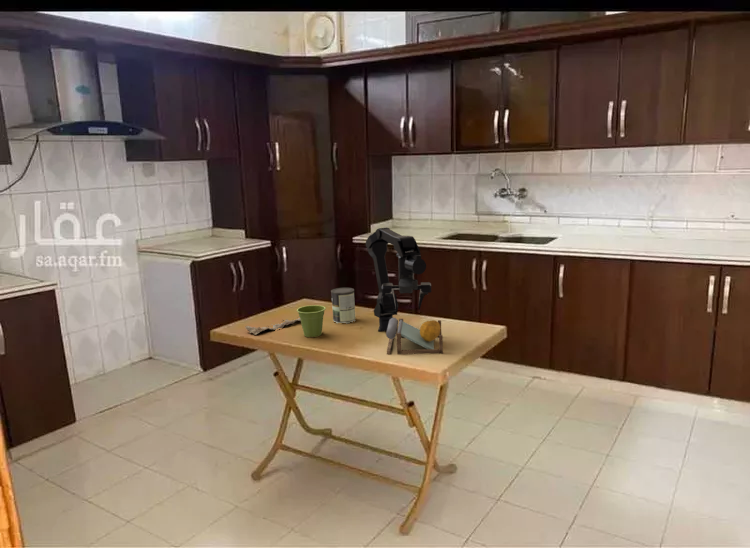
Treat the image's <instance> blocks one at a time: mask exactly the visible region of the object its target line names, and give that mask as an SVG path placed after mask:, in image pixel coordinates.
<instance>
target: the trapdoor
mask: <svg viewBox="0 0 750 548" xmlns="http://www.w3.org/2000/svg"><path fill="white" fill-rule="evenodd" d="M385 332H386V333H385V335H386V337H387V339H388V340H389V339H393V340H394V339H395V337H397V335H396V334H397V333H401V336H402V337H404V338H403V339H406V340H408V341H411V342H412V343H415V344H416V345H419V346H421V347H423V348H425V349H435V347H434V346H435V342H434V341H435V339H434V340H432V341H430V342H428V341H425V340H424V339H423V338H422V337H421V335H420V328H418V327H415V326H414V325H411V324H409V323H407V322H405V321H404V320H403V321H402V320H400V321H399V319H397V318H396V317H393V318H391V319H390V320H389V324H388V328H387V331H385Z"/></svg>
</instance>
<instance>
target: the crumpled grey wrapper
mask: <svg viewBox="0 0 750 548" xmlns="http://www.w3.org/2000/svg"><path fill="white" fill-rule="evenodd" d="M297 318H298V317H297ZM295 319H296V318H295ZM295 319H294V320H293V319H292V320H289V319H285V320H284V319H282V322H283V321H285V322H283V323H281V324H279V323H274V324H275V325H273V324H272V325H273V328H271V327H270V326H268V327H267V326H262V327H260V326H258V327H255V326H253V327H252V326H250V325H246V326H244V328H245V330H247V331H248V332H249V334H251V333H252V334H253V335H258V334H259V333H261V332H263V331H265V330H273V331H274V330H276V329H278V328H283V329H284V327H285V326H288V325H293V324H294V323H296V322H298V321H299V322H301V320H300V318H298V319H296V320H295Z"/></svg>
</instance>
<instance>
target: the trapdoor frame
mask: <svg viewBox="0 0 750 548" xmlns="http://www.w3.org/2000/svg"><path fill="white" fill-rule="evenodd" d="M400 320H402V321H403V322H404V318H398V322H399V321H400ZM437 322H438V323H439V324H440V334H439V336H438V337H437V338H438V341H439V342H438V345H439V348H438V349H437V348H434V349H427V348H425V349H403V348H402V345H403V344H402V339H405V338H404V337H402V336H401V333H397V332H396V353H397V355H416V354H415V353H439V354H444V352H443V351H444V345H443V344H444V342H443V338H444V337H443V334H442V320H440V319H439V320H437ZM393 340H394V338H393V339H389V338H388V342H387V343H388V344H387V347H386V355H391V352H392V346H393ZM408 353H409V354H408ZM413 353H414V354H413Z"/></svg>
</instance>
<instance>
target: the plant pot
mask: <svg viewBox="0 0 750 548" xmlns="http://www.w3.org/2000/svg"><path fill="white" fill-rule="evenodd" d="M325 311H326V307H325V306H324V305H317V304H316V305H315V304H311V305H304V306H300V307H298V308H297V309H296V312H297V314H298V317H300V320H301V321H300V323H301V327H302V332H303V336H305V337H306V338H318V337H320V336H321V335H322V333H323V322H324V314H325Z"/></svg>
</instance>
